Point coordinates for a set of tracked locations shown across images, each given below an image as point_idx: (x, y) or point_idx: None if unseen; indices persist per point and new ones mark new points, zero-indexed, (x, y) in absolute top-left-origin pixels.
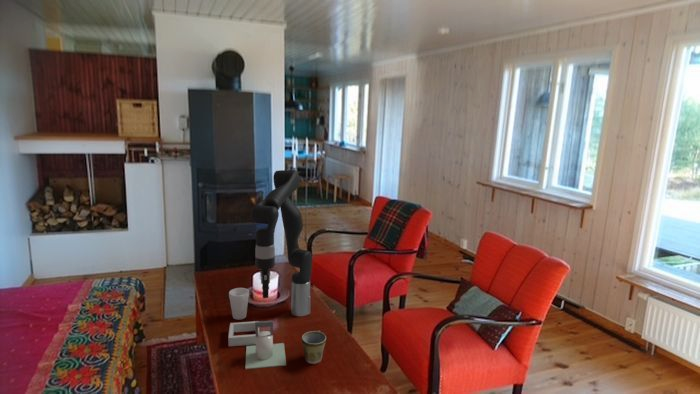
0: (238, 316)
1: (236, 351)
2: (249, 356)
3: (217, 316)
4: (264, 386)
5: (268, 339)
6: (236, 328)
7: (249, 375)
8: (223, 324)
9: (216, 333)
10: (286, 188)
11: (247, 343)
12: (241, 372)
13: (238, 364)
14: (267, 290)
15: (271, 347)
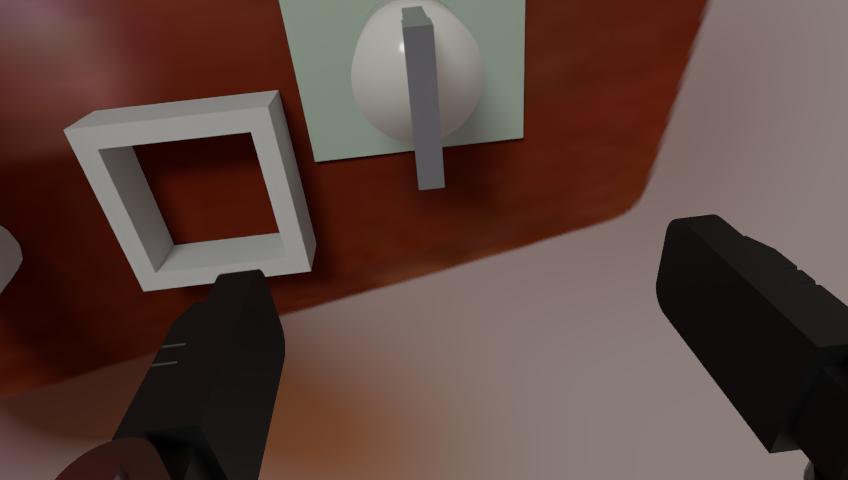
0: (8, 257)
1: (360, 201)
2: None
3: (26, 344)
4: (688, 17)
5: (473, 39)
6: (160, 244)
7: (576, 108)
8: (102, 304)
9: None
10: None
11: (293, 160)
12: (544, 150)
13: (475, 173)
14: (830, 333)
15: (443, 5)
